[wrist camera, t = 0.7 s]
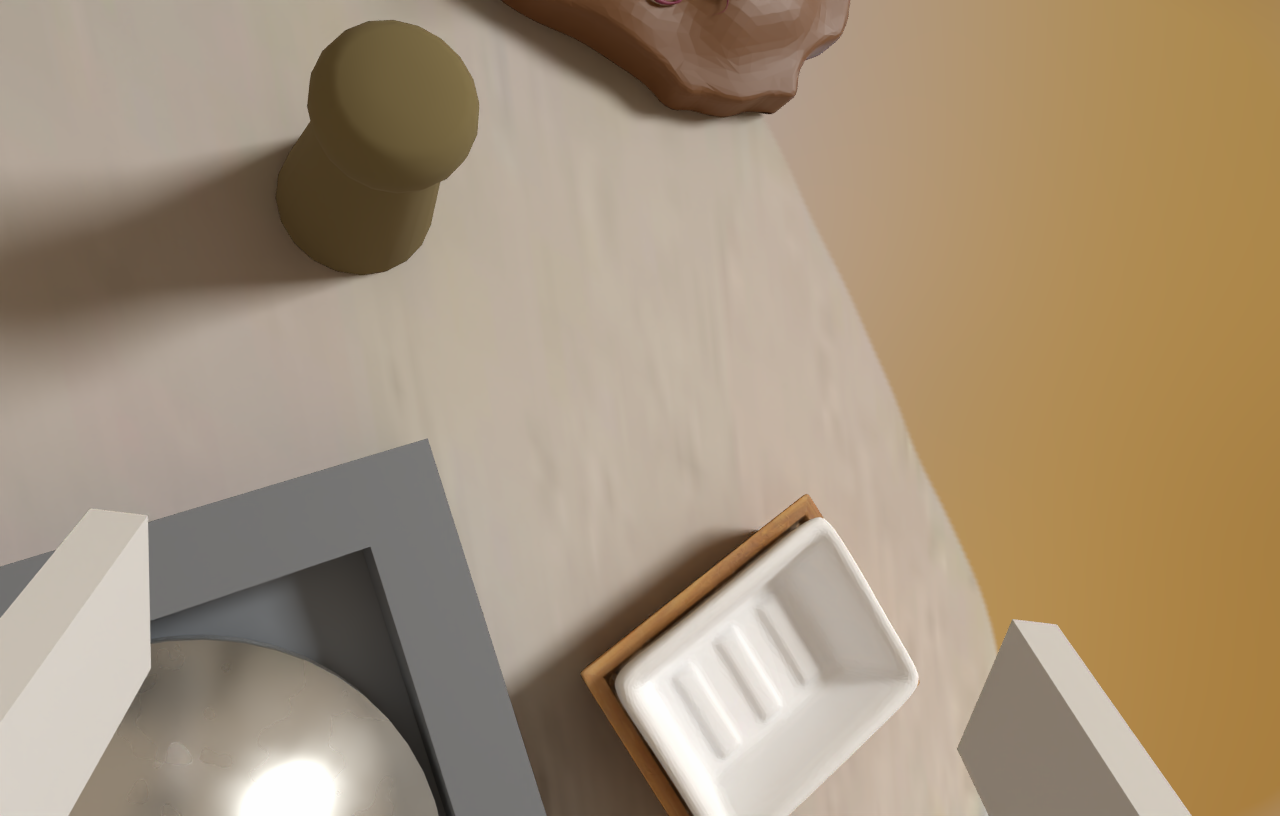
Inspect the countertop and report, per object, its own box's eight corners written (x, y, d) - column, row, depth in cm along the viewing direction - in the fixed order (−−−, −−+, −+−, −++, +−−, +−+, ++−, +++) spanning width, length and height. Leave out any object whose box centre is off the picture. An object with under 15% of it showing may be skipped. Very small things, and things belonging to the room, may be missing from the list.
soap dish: (672, 856, 42) (729, 895, 37) (548, 663, 40) (590, 679, 36) (872, 672, 46) (944, 686, 42) (765, 495, 45) (828, 490, 41)
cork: (381, 304, 39) (439, 223, 29) (243, 214, 38) (253, 96, 28) (460, 187, 41) (539, 74, 31) (331, 96, 40) (371, -54, 30)
